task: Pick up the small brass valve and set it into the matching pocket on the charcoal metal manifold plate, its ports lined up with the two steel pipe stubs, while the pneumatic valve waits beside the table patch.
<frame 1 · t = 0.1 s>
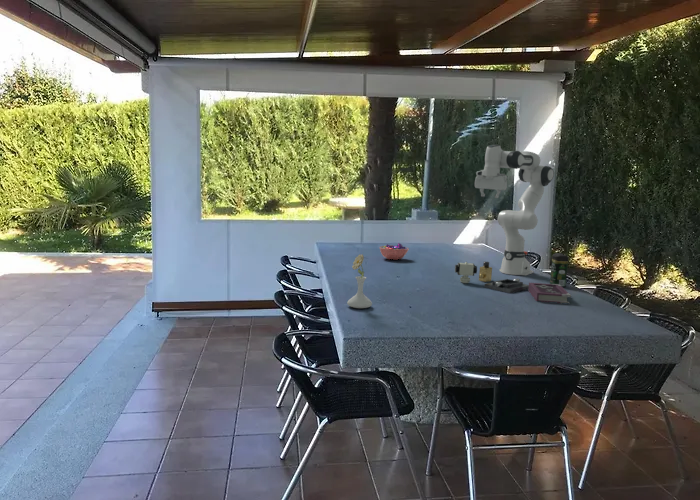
hand: (489, 197, 334), 48 cm above the table, tool pointing down, fingers open, 8 cm apart
book: (548, 298, 299), on the table
brass valve: (484, 280, 334), on the table
pneumatic valve: (464, 282, 327), on the table
flower in vase: (359, 308, 262), on the table
coffee jar: (557, 286, 328), on the table
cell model: (393, 259, 393), on the table
manifold plate: (507, 288, 316), on the table
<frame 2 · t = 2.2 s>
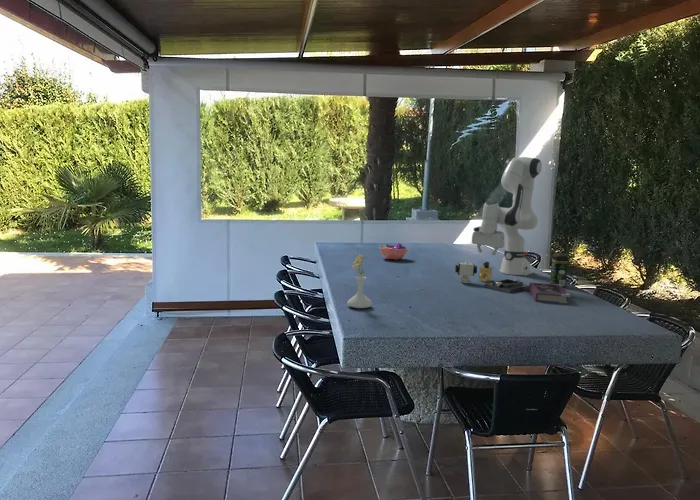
hand: (486, 253, 331), 16 cm above the table, tool pointing down, fingers open, 8 cm apart
nothing on the table moved.
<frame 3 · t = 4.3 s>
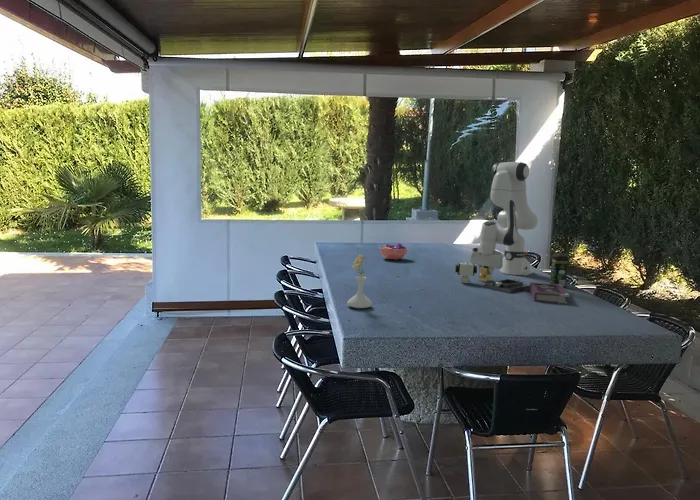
hand: (485, 273, 334), 4 cm above the table, tool pointing down, fingers closed on brass valve, 5 cm apart
brass valve: (484, 280, 334), on the table, touching gripper
everything else where it was.
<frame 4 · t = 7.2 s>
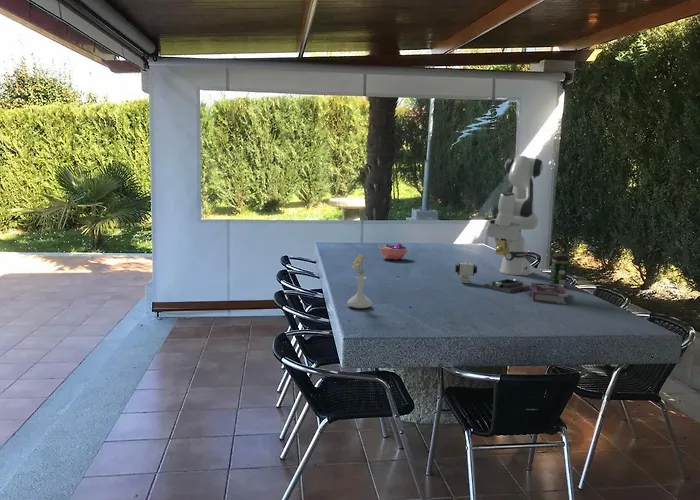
hand: (502, 247, 318), 22 cm above the table, tool pointing down, fingers closed on brass valve, 5 cm apart
brass valve: (502, 254, 319), point 18 cm above the table, touching gripper
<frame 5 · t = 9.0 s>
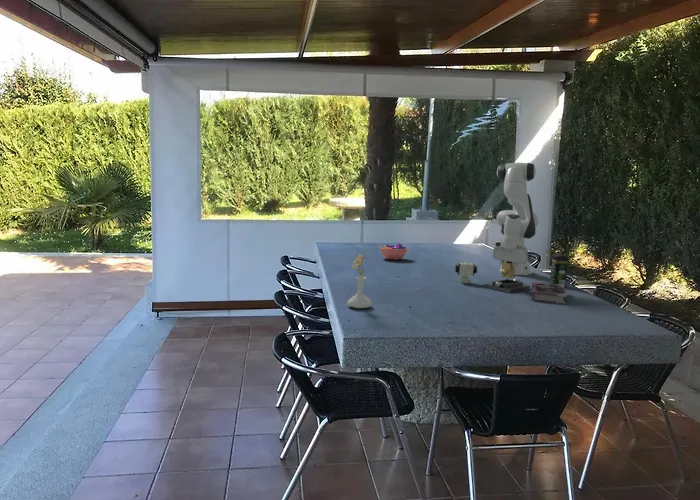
hand: (508, 269, 315), 10 cm above the table, tool pointing down, fingers closed on brass valve, 5 cm apart
brass valve: (507, 277, 315), point 6 cm above the table, touching gripper
when the fingers open (8 cm above the table, at t = 10.4 s): brass valve drops 1 cm, resting on manifold plate.
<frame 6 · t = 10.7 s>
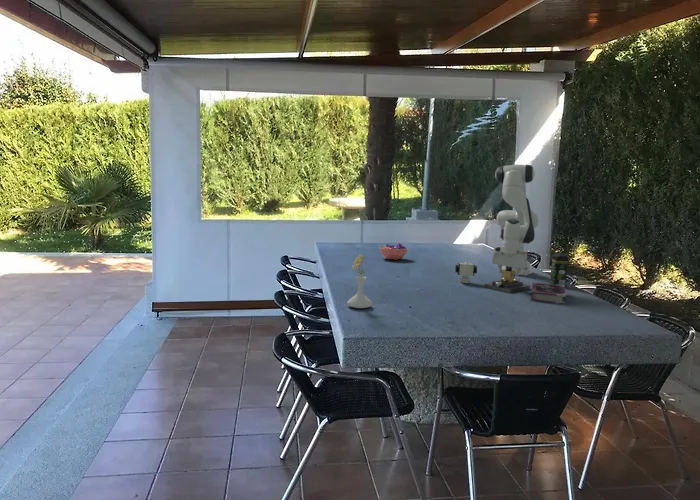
hand: (508, 274, 315), 8 cm above the table, tool pointing down, fingers open, 8 cm apart
brass valve: (507, 284, 316), point 2 cm above the table, touching manifold plate
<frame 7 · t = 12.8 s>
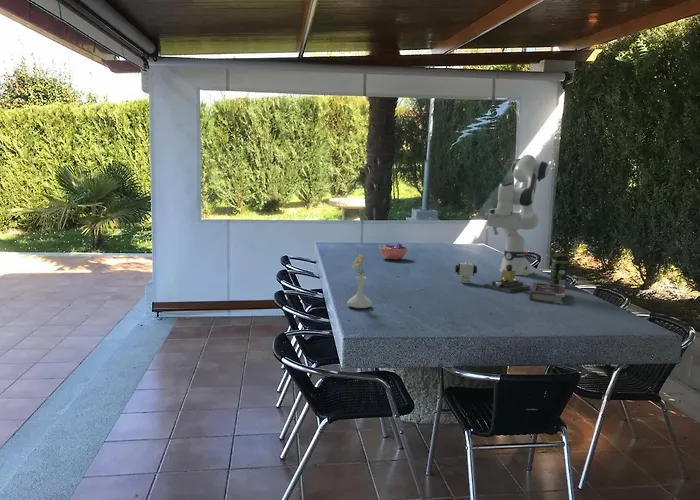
hand: (503, 235, 326), 27 cm above the table, tool pointing down, fingers open, 8 cm apart
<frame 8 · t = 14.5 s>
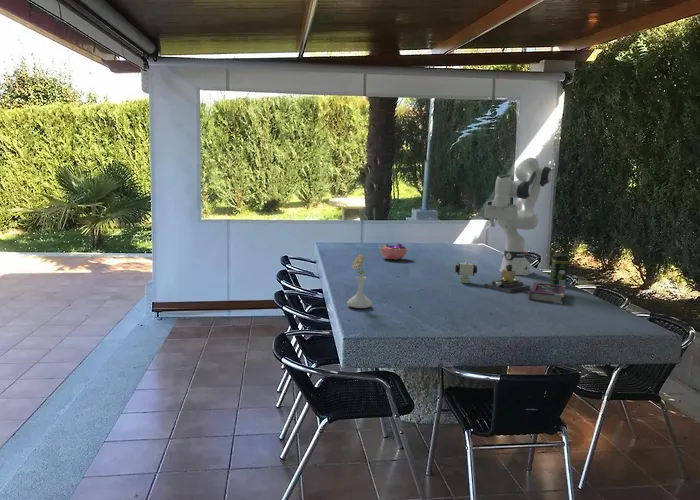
hand: (499, 227, 331), 31 cm above the table, tool pointing down, fingers open, 8 cm apart
at the end: brass valve 0.0 cm off-centre on the manifold plate, point 2.0 cm above the manifold plate's base; brass valve tilted 0°; the gripper is holding nothing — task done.
